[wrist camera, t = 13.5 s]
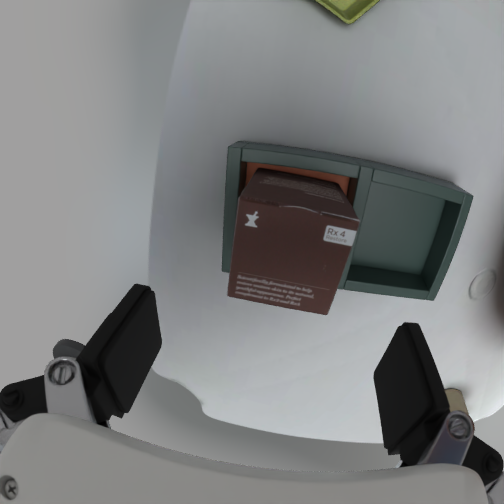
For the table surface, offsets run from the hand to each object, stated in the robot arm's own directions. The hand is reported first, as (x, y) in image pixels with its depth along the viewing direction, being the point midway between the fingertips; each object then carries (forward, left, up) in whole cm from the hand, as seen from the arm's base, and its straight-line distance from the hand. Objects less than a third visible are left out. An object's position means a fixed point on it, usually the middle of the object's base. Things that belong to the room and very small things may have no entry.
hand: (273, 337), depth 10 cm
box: (0, 0, -13) cm, 13 cm away
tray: (+4, 0, -13) cm, 14 cm away
